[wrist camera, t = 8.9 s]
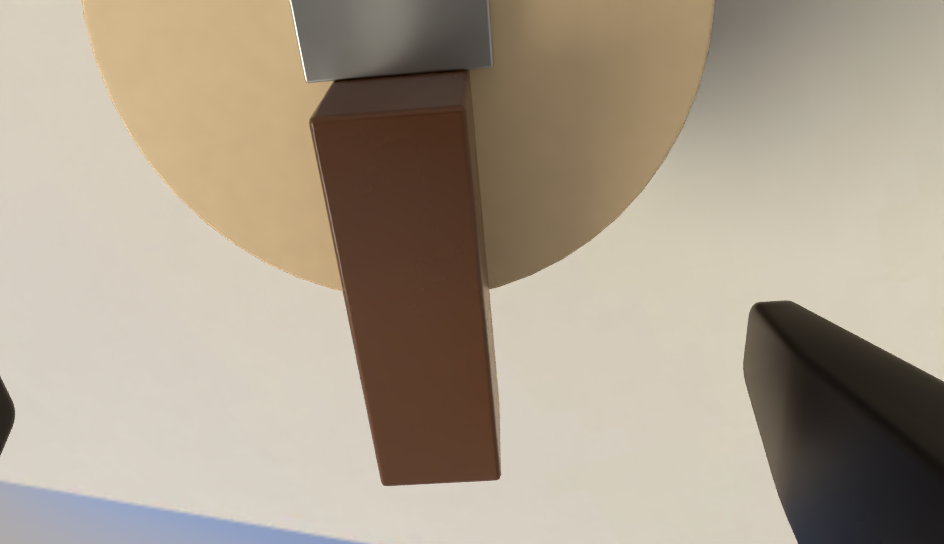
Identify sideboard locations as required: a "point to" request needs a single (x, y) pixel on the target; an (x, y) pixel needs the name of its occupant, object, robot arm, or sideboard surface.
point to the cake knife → (409, 224)
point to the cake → (494, 109)
